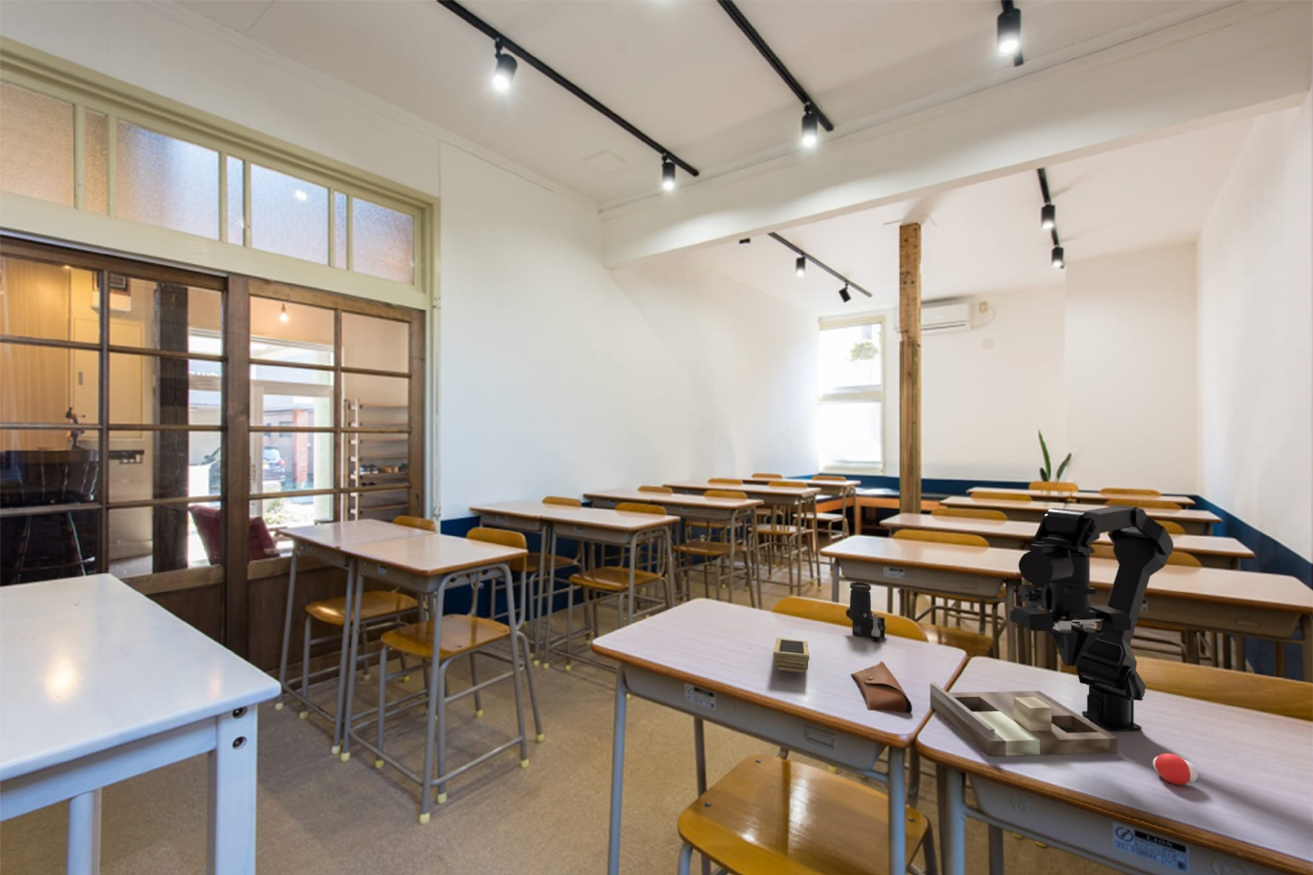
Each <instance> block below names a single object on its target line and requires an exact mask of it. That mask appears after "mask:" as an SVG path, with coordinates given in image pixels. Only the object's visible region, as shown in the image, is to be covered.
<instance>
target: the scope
mask: <svg viewBox="0 0 1313 875" xmlns="http://www.w3.org/2000/svg"><path fill="white" fill-rule="evenodd" d="M849 587H850V592H849V593H850V594H849V595H850V596H849V608H847V609H846V610H845V616H846V617H847V618H849V619H850V620H851V621H852V622H851V623H852V626H851V627H852V632H851V633H852V636H854V637H858V638H865V639H870V640H871V641H872V642H877V643H881V642H882V639H885V637H886V635H885V632H886V629H887V624H886V620H885V619H886V617H884V616H878V613H877V612H873V611H872V603H871V602H872V600H871V597H872V596H871V592H870V591H871V590H872V585H871V584H870V583H867V582H862V581H861V582H860V581H853V582H850V583H849Z"/></svg>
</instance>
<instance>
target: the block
mask: <svg viewBox="0 0 1313 875" xmlns="http://www.w3.org/2000/svg"><path fill="white" fill-rule="evenodd" d="M1014 720H1015V721H1017V722H1018V723H1020V724H1021V725H1022V726H1024V727H1025V728H1027V729H1028V730H1029V731H1042V730H1051V723H1052V708H1051V707H1050V706H1048V705H1047V704H1045V703H1043V702H1042V701H1040V700H1039V699H1037V698H1035V697H1014Z"/></svg>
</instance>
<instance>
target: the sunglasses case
mask: <svg viewBox="0 0 1313 875" xmlns="http://www.w3.org/2000/svg"><path fill="white" fill-rule="evenodd" d="M850 677H852V679H853V680H854V682H855V683H856V684H857V686H858V688H859V690H860V692H861V693H862V696H863V698H864V700H865V703H866V707H867V709H868V710H869V711H878V712H890V713H900V714H901V713H902V714H911V713H912V711H913V705H912V702H911V701H910V699H909V698H908V696H907V695H906V693H905V691H904V690H903V688H902V686H901V685H900V683H899V682H898V680H897V679H896V678H895V676H894V675H893V673H892V672H891V671H890V669H889V668H888V667H887V665H886V664H885V663H884V662H883V661H882V660H881V661H880V662H879V663H878V664H875V665H873V666H871V667H867V668H864V669H862V670H859V671H857V672H854V673H851V674H850Z"/></svg>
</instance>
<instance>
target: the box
mask: <svg viewBox="0 0 1313 875" xmlns="http://www.w3.org/2000/svg"><path fill="white" fill-rule="evenodd" d="M809 652H810V651H809V644H808V640H799V639H797V640H796V639H788V638H779V637H776V638H775V644H774V649H773V666H774V667H777V670H778V671H784V672H791V673H792V672H794V673H801V674H803V673H805V671H808V669H809V661H810V653H809Z"/></svg>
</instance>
